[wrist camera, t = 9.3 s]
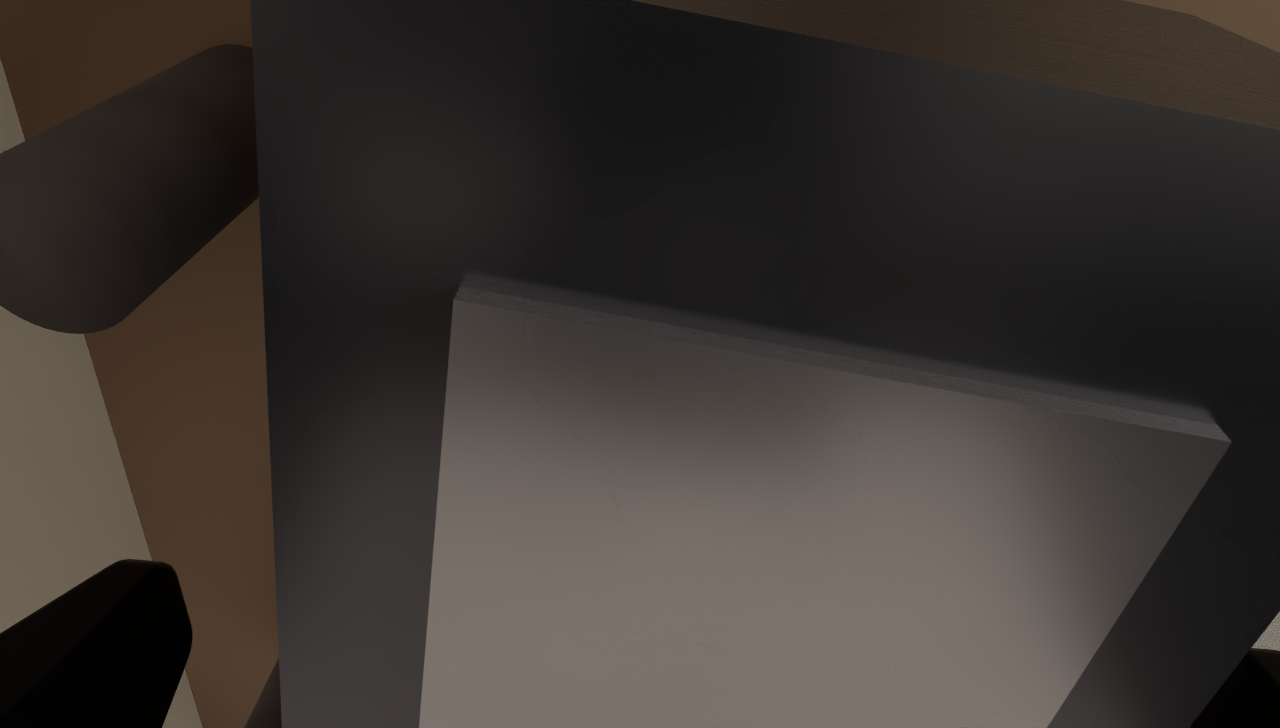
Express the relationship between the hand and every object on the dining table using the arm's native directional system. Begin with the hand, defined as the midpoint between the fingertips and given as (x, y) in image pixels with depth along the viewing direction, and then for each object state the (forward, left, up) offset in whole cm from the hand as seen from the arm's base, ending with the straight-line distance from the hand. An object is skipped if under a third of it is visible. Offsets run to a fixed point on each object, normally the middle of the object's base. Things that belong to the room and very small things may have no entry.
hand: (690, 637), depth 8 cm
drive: (0, 0, -2) cm, 3 cm away
